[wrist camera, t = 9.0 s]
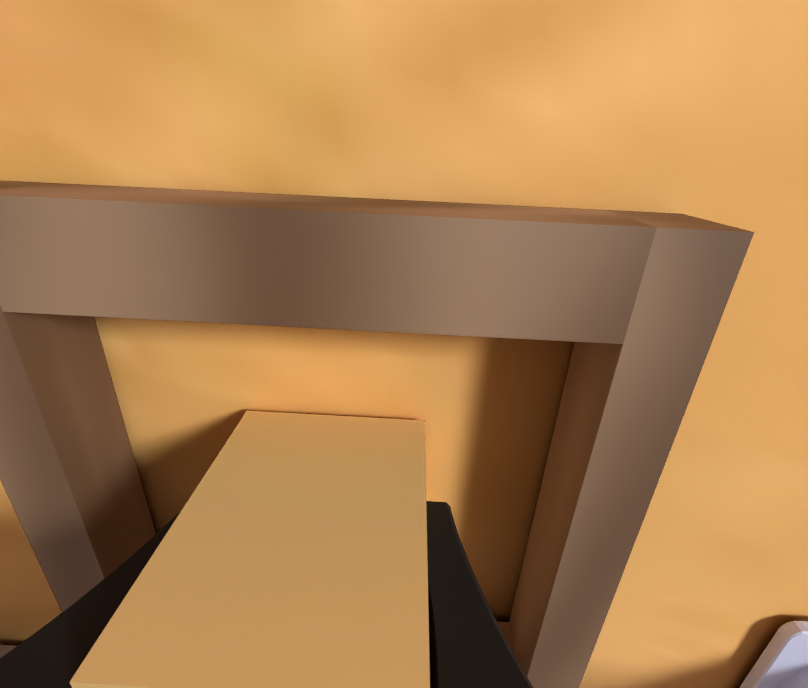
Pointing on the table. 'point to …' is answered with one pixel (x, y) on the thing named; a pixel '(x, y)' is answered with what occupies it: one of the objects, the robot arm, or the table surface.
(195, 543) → the ochre block
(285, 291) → the brown flat frame
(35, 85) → the table surface
